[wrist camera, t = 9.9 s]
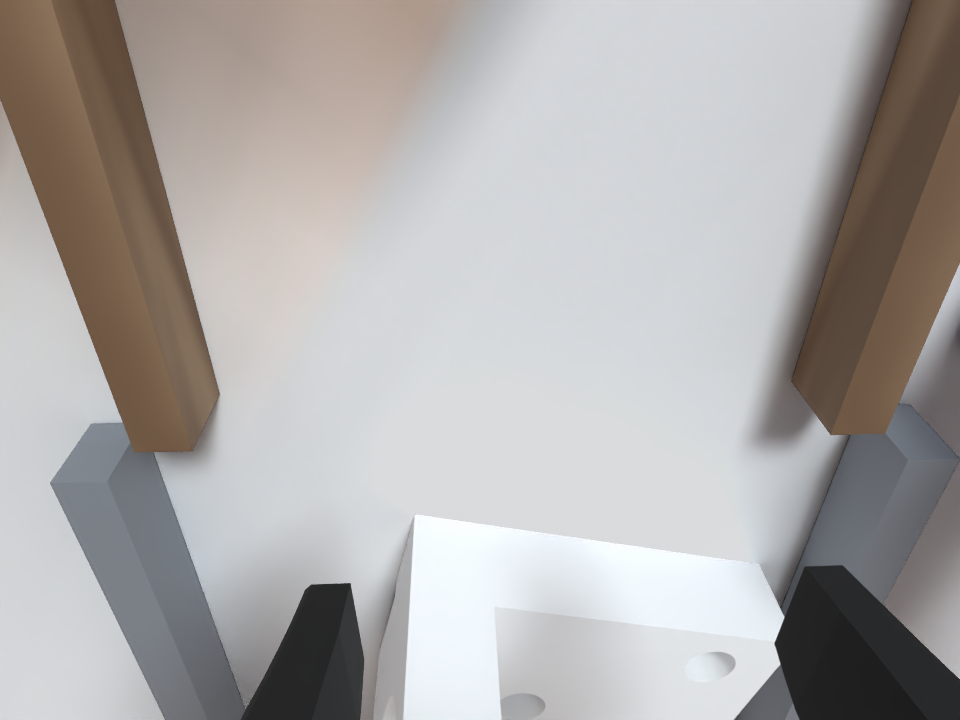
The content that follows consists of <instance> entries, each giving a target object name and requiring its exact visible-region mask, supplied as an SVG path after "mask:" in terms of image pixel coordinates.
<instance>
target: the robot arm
mask: <svg viewBox="0 0 960 720" xmlns="http://www.w3.org/2000/svg"><path fill="white" fill-rule="evenodd" d="M774 644H775V647H776V651H777V654H778V657H779V661H780V664H781V667H782V671H783V674H784V677H785V680H786V683H787V686H788V689H789V692H790V695H791V698H792V701H793V704H794V707H795V710H796V713H797V715H798V717H799V720H960V679H959V678H958V677H957V676H956V675H955V674H953V673H952V672H951V671H950V670H949V669H948V668H947V667H946V666H945V665H944V664H943V663H942V662H941V661H940V660H939V659H938V658H937V657H936V656H935V655H934V654H933V653H931V652H930V651H929V650H928V649H927V648H926V647H925V646H924V645H923V644H922V643H921V642H920V641H919V640H918V639H917V638H916V637H915V636H914V635H913V634H912V633H911V632H910V631H909V630H908V629H907V628H906V627H905V626H904V625H903V624H902V623H901V622H900V621H899V620H898V619H897V618H896V617H895V616H894V615H893V614H892V613H891V612H890V611H889V610H888V609H887V608H886V607H885V606H884V605H883V604H882V603H881V602H880V601H879V600H878V599H877V598H875V597H874V596H873V595H872V594H871V593H870V592H869V591H868V590H867V589H866V588H865V587H864V586H863V585H862V584H861V583H860V582H859V581H858V580H857V579H856V578H855V577H854V576H853V575H852V574H851V573H850V572H849V571H848V570H847V569H846V568H845V567H844V566H843V565H832V566H805V567H804V569H803V572H802V574H801V577H800V580H799V582H798V585H797V587H796V590H795V592H794V595H793V597H792V600H791V602H790V605H789V607H788V610H787V613H786V615H785V618H784V620H783V623H782V625H781V628H780V630H779V633H778V635H777V638H776V640H775V643H774ZM363 671H364V656H363V650H362V645H361V639H360V633H359V628H358V622H357V617H356V611H355V606H354V600H353V595H352V589H351V584H350V583H344V584H317V585H310V586H309V587H308V588H307V589H306V590H305V591H304V594H303V596H302V599H301V601H300V603H299V606H298V608H297V610H296V613H295V615H294V617H293V619H292V621H291V624H290V626H289V628H288V630H287V632H286V634H285V636H284V638H283V640H282V642H281V644H280V647H279V649H278V651H277V652H276V654H275V656H274V658H273V660H272V662H271V664H270V666H269V668H268V670H267V672H266V674H265V676H264V678H263V680H262V681H261V683H260V685H259V687H258V689H257V691H256V692H255V694H254V696H253V698H252V700H251V701H250V703H249V705H248V707H247V709H246V711H245V712H244V714H243V716H242V718H241V720H360V714H361V701H362V686H363Z"/></svg>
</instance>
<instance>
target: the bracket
mask: <svg viewBox="0 0 960 720" xmlns="http://www.w3.org/2000/svg"><path fill="white" fill-rule="evenodd" d="M784 618H785V617H784V615H783V613H782V611H781V609H780V607H779V605H778V603H777V601H776V598H775V596H774V594H773V592H772V590H771V588H770V586H769V584H768V582H767V580H766V577H765V575H764V573H763V571H762V569H761V567H760V565H759V564H754V563H747V562H740V561H733V560H726V559H719V558H712V557H705V556H698V555H691V554H684V553H678V552H671V551H664V550H657V549H650V548H643V547H636V546H629V545H622V544H615V543H608V542H602V541H595V540H588V539H581V538H574V537H567V536H560V535H553V534H546V533H539V532H532V531H525V530H519V529H512V528H505V527H498V526H491V525H484V524H477V523H470V522H463V521H456V520H449V519H443V518H436V517H429V516H422V515H414V519H413V523H412V526H411V530H410V533H409V537H408V541H407V544H406V548H405V551H404V555H403V559H402V562H401V566H400V569H399V573H398V577H397V580H396V591H395V599H394V602H393V606H392V609H391V613H390V616H389V620H388V623H387V627H386V631H385V634H384V638H383V641H382V645H381V648H380V652H379V659H378V670H377V680H376V691H375V702H374V712H373V720H734V719H735V718H736V716H737V715H738V714H739V713H740V712H741V710H742V709H743V708H744V707H745V706H746V705H747V703H748V702H749V701H750V700H751V699H752V697H753V696H754V695H755V694H756V693H757V691H758V690H759V689H760V688H761V687H762V686H763V684H764V683H765V682H766V681H767V680H768V678H769V677H770V676H771V675H772V674H773V672H774V671H775V670H776V669H777V668H778V667H779V665H780V661H779V657H778V654H777V651H776V647H775V644H774V643H775V640H776V638H777V635H778V633H779V630H780V628H781V625H782V623H783V620H784Z"/></svg>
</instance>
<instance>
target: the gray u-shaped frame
mask: <svg viewBox="0 0 960 720" xmlns="http://www.w3.org/2000/svg"><path fill="white" fill-rule="evenodd" d="M959 461H960V458H959V457H958V456H957V455H956V454H955V452H954V451H953V450H952V449H951V448H950V447H949V446H948V445H947V444H946V443H945V442H944V441H943V440H942V439H941V437H940V436H939V435H938V434H937V433H936V432H935V431H934V430H933V429H932V428H931V427H930V426H929V425H928V424H927V423H926V421H925V420H924V419H923V418H922V417H921V416H920V415H919V414H918V413H917V412H916V411H915V410H914V409H913V408H912V406H911V405H910V404H908V405H897V408H896V410H895V412H894V415H893V417H892V419H891V421H890V424H889V426H888V428H887V431H886V433H885V434H851V435H850V438H849V440H848V443H847V445H846V448H845V450H844V453H843V455H842V458H841V460H840V463H839V465H838V468H837V470H836V473H835V475H834V478H833V480H832V483H831V485H830V488H829V490H828V493H827V495H826V498H825V500H824V503H823V505H822V508H821V510H820V513H819V515H818V518H817V520H816V523H815V525H814V528H813V530H812V533H811V535H810V538H809V540H808V543H807V545H806V548H805V550H804V553H803V555H802V558H801V560H800V563H799V565H798V568H797V570H796V573H795V575H794V578H793V580H792V583H791V585H790V588H789V590H788V593H787V595H786V598H785V600H784V603H783V605H782V608H781V611H782V613H783V615H784V617H785V615H786V613H787V610H788V607H789V605H790V602H791V600H792V597H793V595H794V592H795V590H796V587H797V585H798V582H799V580H800V577H801V574H802V572H803V569H804V567H805V566H832V565H843V566H844V567H845V568H846V569H847V570H848V571H849V572H850V573H851V574H852V575H853V576H854V577H855V578H856V579H857V580H858V581H859V582H860V583H861V584H862V585H863V586H864V587H865V588H866V589H867V590H868V591H869V592H870V593H871V594H872V595H873V596H874V597H875V598H877V599H878V600H879V601H880V602H881V603H882V604H884V602H885V600H886V598H887V596H888V594H889V592H890V590H891V589H892V587H893V585H894V583H895V581H896V579H897V577H898V575H899V574H900V572H901V570H902V568H903V566H904V564H905V562H906V560H907V559H908V557H909V555H910V553H911V551H912V549H913V547H914V545H915V544H916V542H917V540H918V538H919V536H920V534H921V532H922V530H923V529H924V527H925V525H926V523H927V521H928V519H929V517H930V515H931V513H932V512H933V510H934V508H935V506H936V504H937V502H938V500H939V498H940V497H941V495H942V493H943V491H944V489H945V487H946V485H947V483H948V482H949V480H950V478H951V476H952V474H953V472H954V470H955V468H956V467H957V465H958V463H959ZM50 484H51V486H52V488H53V490H54V492H55V494H56V496H57V498H58V500H59V502H60V505H61V507H62V509H63V511H64V513H65V515H66V517H67V519H68V521H69V523H70V525H71V527H72V529H73V531H74V533H75V535H76V537H77V539H78V541H79V544H80V546H81V548H82V550H83V552H84V554H85V556H86V558H87V560H88V562H89V564H90V566H91V568H92V570H93V572H94V574H95V576H96V578H97V580H98V583H99V585H100V587H101V589H102V591H103V593H104V595H105V597H106V599H107V601H108V603H109V605H110V607H111V609H112V611H113V613H114V615H115V617H116V619H117V622H118V624H119V626H120V628H121V630H122V632H123V634H124V636H125V638H126V640H127V642H128V644H129V646H130V648H131V650H132V652H133V654H134V656H135V658H136V661H137V663H138V665H139V667H140V669H141V671H142V673H143V675H144V677H145V679H146V681H147V683H148V685H149V687H150V689H151V691H152V693H153V695H154V697H155V700H156V702H157V704H158V706H159V708H160V710H161V712H162V714H163V716H164V718H165V720H241V718H242V716H243V714H244V712H245V708H244V705H243V703H242V700H241V697H240V694H239V691H238V689H237V686H236V683H235V680H234V678H233V675H232V672H231V669H230V666H229V664H228V661H227V658H226V655H225V652H224V650H223V647H222V644H221V641H220V638H219V636H218V633H217V630H216V627H215V624H214V622H213V619H212V616H211V613H210V610H209V608H208V605H207V602H206V599H205V596H204V594H203V591H202V588H201V585H200V582H199V580H198V577H197V574H196V571H195V569H194V566H193V563H192V560H191V557H190V555H189V552H188V549H187V546H186V543H185V541H184V538H183V535H182V532H181V529H180V527H179V524H178V521H177V518H176V515H175V513H174V510H173V507H172V504H171V501H170V499H169V496H168V493H167V490H166V487H165V485H164V482H163V479H162V476H161V474H160V471H159V468H158V465H157V462H156V460H155V457H154V454H153V452H134V451H133V448H132V445H131V443H130V440H129V437H128V435H127V432H126V429H125V427H124V424H123V423H105V424H91V425H90V426H89V428H88V429H87V431H86V432H85V434H84V435H83V436H82V438H81V439H80V441H79V442H78V444H77V445H76V446H75V448H74V449H73V451H72V452H71V454H70V455H69V457H68V458H67V459H66V461H65V462H64V464H63V465H62V467H61V468H60V469H59V471H58V472H57V474H56V475H55V477H54V478H53V479H52V481H51V482H50ZM737 720H799V717H798V715H797V713H796V710H795V707H794V704H793V701H792V698H791V695H790V692H789V689H788V686H787V683H786V680H785V677H784V674H783V671H782V667H781V664H780V665H779V667H778V668H777V669H776V670H775V671H774V672H773V674H772V675H771V676H770V677H769V678H768V680H767V681H766V682H765V683H764V684H763V686H762V687H761V688H760V689H759V690H758V691H757V693H756V694H755V695H754V696H753V697H752V699H751V700H750V701H749V702H748V703H747V705H746V706H745V707H744V708H743V709H742V710H741V712H740V713H739V715H738V717H737Z"/></svg>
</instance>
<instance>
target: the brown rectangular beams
mask: <svg viewBox="0 0 960 720" xmlns="http://www.w3.org/2000/svg"><path fill="white" fill-rule="evenodd" d="M0 99H1V102H2V104H3V107H4V110H5V112H6V115H7V118H8V120H9V123H10V126H11V128H12V131H13V134H14V136H15V139H16V141H17V144H18V147H19V149H20V152H21V155H22V157H23V160H24V163H25V165H26V168H27V171H28V173H29V176H30V178H31V181H32V184H33V186H34V189H35V192H36V194H37V197H38V200H39V202H40V205H41V208H42V210H43V213H44V215H45V218H46V221H47V223H48V226H49V229H50V231H51V234H52V237H53V239H54V242H55V245H56V247H57V250H58V252H59V255H60V258H61V260H62V263H63V266H64V268H65V271H66V274H67V276H68V279H69V281H70V284H71V287H72V289H73V292H74V295H75V297H76V300H77V303H78V305H79V308H80V311H81V313H82V316H83V318H84V321H85V324H86V326H87V329H88V332H89V334H90V337H91V340H92V342H93V345H94V348H95V350H96V353H97V355H98V358H99V361H100V363H101V366H102V369H103V371H104V374H105V377H106V379H107V382H108V385H109V387H110V390H111V392H112V395H113V398H114V400H115V403H116V406H117V408H118V411H119V414H120V416H121V419H122V422H123V424H124V427H125V429H126V432H127V435H128V437H129V440H130V443H131V445H132V448H133V451H134V452H173V451H193V449H194V447H195V445H196V443H197V440H198V438H199V436H200V434H201V432H202V430H203V428H204V426H205V424H206V421H207V419H208V417H209V415H210V413H211V411H212V409H213V407H214V405H215V403H216V400H217V398H218V396H219V390H218V386H217V382H216V379H215V375H214V371H213V367H212V364H211V360H210V356H209V353H208V349H207V345H206V341H205V338H204V334H203V330H202V326H201V323H200V319H199V315H198V311H197V308H196V304H195V300H194V296H193V293H192V289H191V285H190V282H189V278H188V274H187V270H186V267H185V263H184V259H183V255H182V252H181V248H180V244H179V240H178V237H177V233H176V229H175V225H174V222H173V218H172V214H171V210H170V207H169V203H168V199H167V196H166V192H165V188H164V184H163V181H162V177H161V173H160V169H159V166H158V162H157V158H156V154H155V151H154V147H153V143H152V139H151V136H150V132H149V128H148V125H147V121H146V117H145V113H144V110H143V106H142V102H141V98H140V95H139V91H138V87H137V83H136V80H135V76H134V72H133V68H132V65H131V61H130V57H129V53H128V50H127V46H126V42H125V39H124V35H123V31H122V27H121V24H120V20H119V16H118V12H117V9H116V5H115V1H114V0H0ZM959 263H960V0H912V4H911V7H910V10H909V13H908V16H907V19H906V22H905V26H904V29H903V32H902V35H901V38H900V41H899V44H898V48H897V51H896V54H895V57H894V60H893V63H892V66H891V70H890V73H889V76H888V79H887V82H886V85H885V88H884V92H883V95H882V98H881V101H880V104H879V107H878V110H877V114H876V117H875V120H874V123H873V126H872V129H871V132H870V136H869V139H868V142H867V145H866V148H865V151H864V154H863V158H862V161H861V164H860V167H859V170H858V173H857V176H856V180H855V183H854V186H853V189H852V192H851V195H850V198H849V202H848V205H847V208H846V211H845V214H844V217H843V220H842V224H841V227H840V230H839V233H838V236H837V239H836V242H835V246H834V249H833V252H832V255H831V258H830V261H829V265H828V268H827V271H826V274H825V277H824V280H823V283H822V287H821V290H820V293H819V296H818V299H817V302H816V305H815V309H814V312H813V315H812V318H811V321H810V324H809V327H808V331H807V334H806V337H805V340H804V343H803V346H802V349H801V353H800V356H799V359H798V362H797V365H796V368H795V371H794V375H793V378H792V383H793V384H794V385H795V387H796V388H797V389H798V391H799V392H800V394H801V395H802V396H803V398H804V399H805V400H806V402H807V403H808V405H809V406H810V407H811V409H812V410H813V411H814V413H815V414H816V415H817V417H818V418H819V420H820V421H821V422H822V424H823V425H824V426H825V428H826V429H827V431H828V432H829V433H830V435H850V434H885V433H886V431H887V428H888V426H889V424H890V421H891V419H892V417H893V415H894V412H895V410H896V408H897V405H898V403H899V401H900V399H901V396H902V394H903V392H904V389H905V387H906V385H907V382H908V380H909V378H910V376H911V373H912V371H913V369H914V366H915V364H916V362H917V360H918V357H919V355H920V353H921V350H922V348H923V346H924V344H925V341H926V339H927V337H928V334H929V332H930V330H931V328H932V325H933V323H934V321H935V318H936V316H937V314H938V312H939V309H940V307H941V305H942V302H943V300H944V298H945V296H946V293H947V291H948V289H949V286H950V284H951V282H952V279H953V277H954V275H955V273H956V270H957V268H958V266H959Z"/></svg>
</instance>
